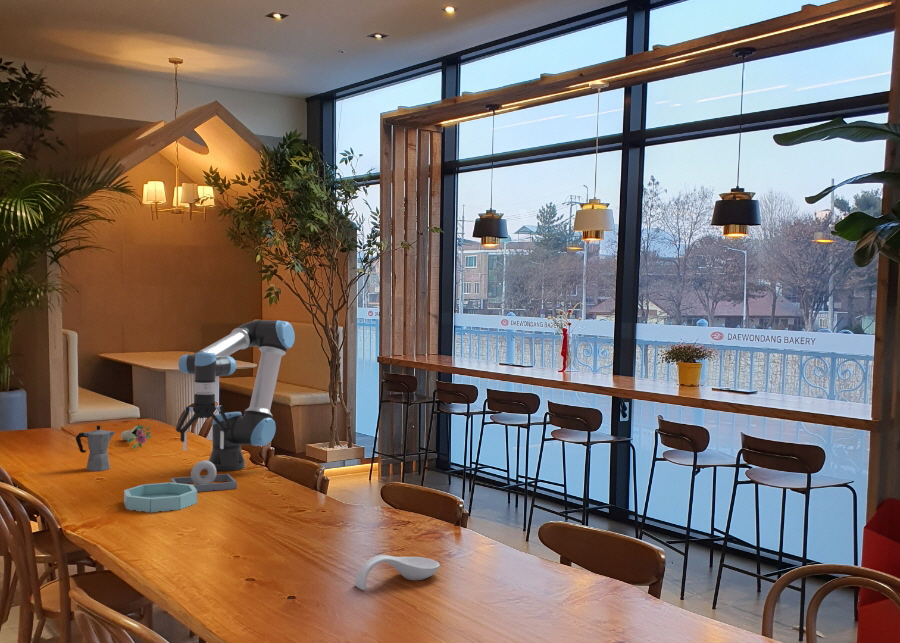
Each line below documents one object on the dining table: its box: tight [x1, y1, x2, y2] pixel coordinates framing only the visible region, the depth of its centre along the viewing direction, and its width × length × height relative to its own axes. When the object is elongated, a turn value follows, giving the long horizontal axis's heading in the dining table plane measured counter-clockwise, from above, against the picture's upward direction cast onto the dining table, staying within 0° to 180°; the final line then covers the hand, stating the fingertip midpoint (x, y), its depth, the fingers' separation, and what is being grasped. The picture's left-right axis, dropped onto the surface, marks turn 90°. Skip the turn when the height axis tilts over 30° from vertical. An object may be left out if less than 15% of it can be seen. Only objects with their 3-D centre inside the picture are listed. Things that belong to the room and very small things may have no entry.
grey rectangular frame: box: [170, 473, 238, 493], centre depth 314 cm, size 22×16×2 cm
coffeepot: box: [75, 425, 116, 472], centre depth 340 cm, size 15×9×18 cm, turn 129°
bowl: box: [123, 481, 198, 513], centre depth 288 cm, size 23×23×4 cm
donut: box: [190, 460, 218, 485], centre depth 314 cm, size 10×4×10 cm, turn 130°
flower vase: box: [120, 423, 153, 450], centre depth 394 cm, size 12×12×35 cm
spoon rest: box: [354, 554, 441, 591], centre depth 215 cm, size 24×12×7 cm, turn 127°
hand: (203, 449), depth 313 cm, fingers open, 13 cm apart
